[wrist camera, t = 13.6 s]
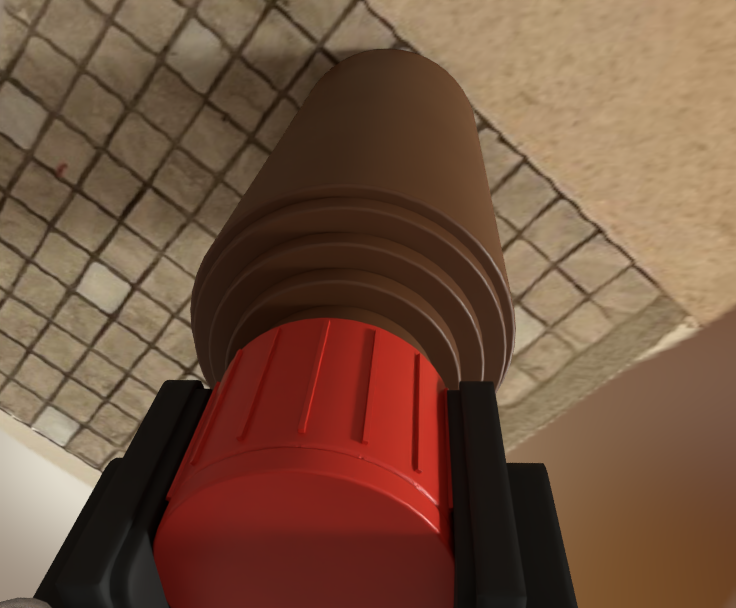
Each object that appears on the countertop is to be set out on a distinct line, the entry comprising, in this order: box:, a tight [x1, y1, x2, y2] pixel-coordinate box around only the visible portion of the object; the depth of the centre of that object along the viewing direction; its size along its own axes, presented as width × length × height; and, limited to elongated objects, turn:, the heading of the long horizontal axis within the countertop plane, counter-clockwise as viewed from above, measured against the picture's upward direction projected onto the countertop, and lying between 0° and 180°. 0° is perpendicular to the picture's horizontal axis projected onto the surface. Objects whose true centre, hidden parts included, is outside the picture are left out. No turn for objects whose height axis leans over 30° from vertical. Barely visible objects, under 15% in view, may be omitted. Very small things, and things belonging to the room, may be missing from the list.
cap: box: [153, 317, 455, 608], centre depth 10 cm, size 4×4×3 cm
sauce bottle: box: [190, 49, 516, 394], centre depth 17 cm, size 6×6×18 cm
